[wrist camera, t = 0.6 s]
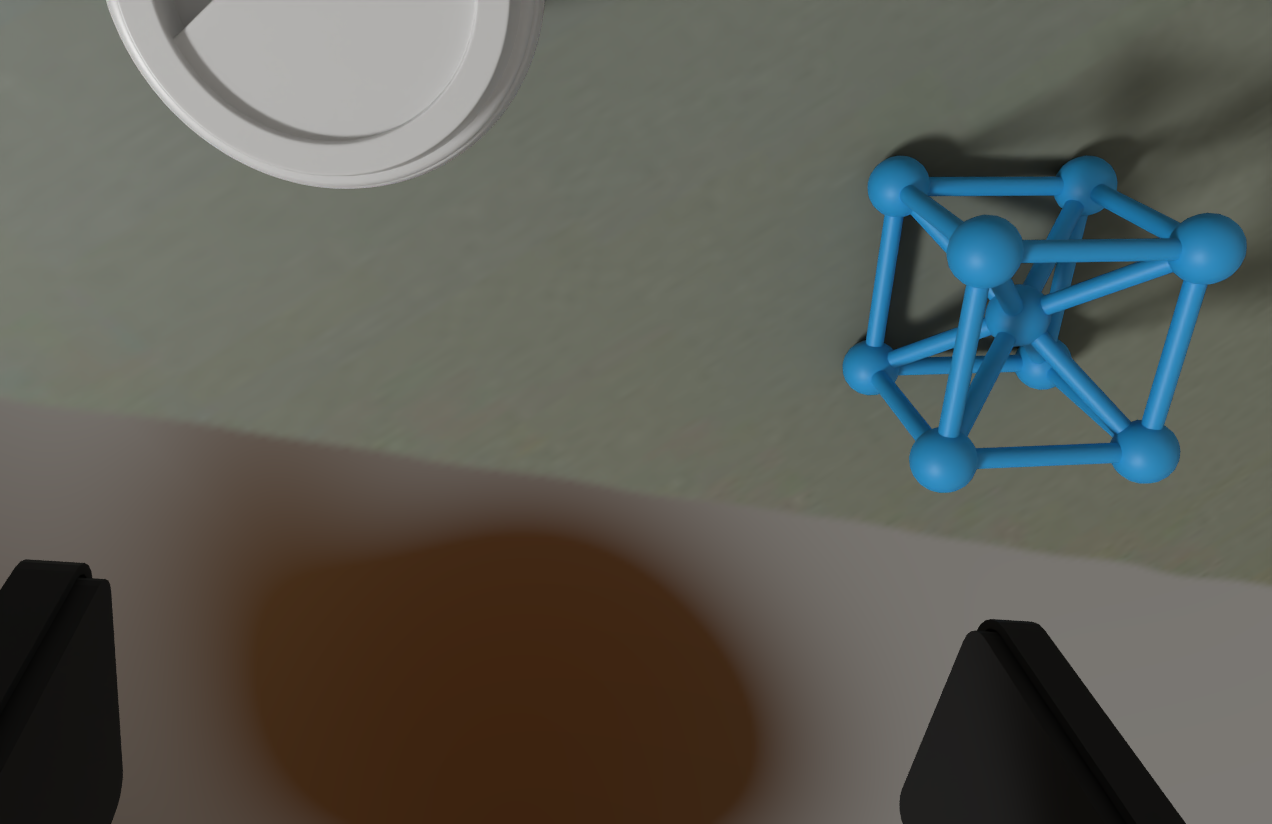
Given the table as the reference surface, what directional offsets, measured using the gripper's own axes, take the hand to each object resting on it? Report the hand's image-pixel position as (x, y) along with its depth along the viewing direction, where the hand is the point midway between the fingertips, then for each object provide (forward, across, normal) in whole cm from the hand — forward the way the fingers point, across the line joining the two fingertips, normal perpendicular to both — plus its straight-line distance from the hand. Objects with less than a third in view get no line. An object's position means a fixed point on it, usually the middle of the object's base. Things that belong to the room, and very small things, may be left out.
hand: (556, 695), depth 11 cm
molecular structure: (+30, -20, +4) cm, 36 cm away
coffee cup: (+30, +5, -5) cm, 31 cm away
